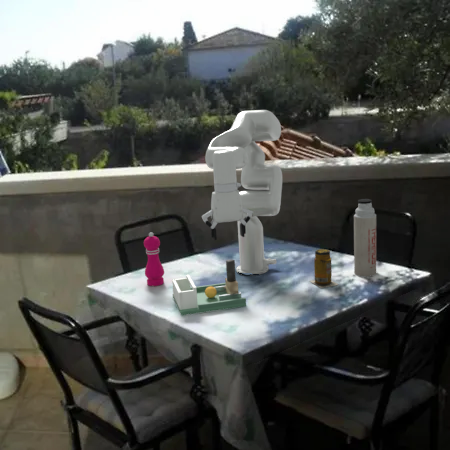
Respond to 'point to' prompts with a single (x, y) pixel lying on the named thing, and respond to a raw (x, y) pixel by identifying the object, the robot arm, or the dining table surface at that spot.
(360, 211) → the thermos bottle
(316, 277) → the condiment
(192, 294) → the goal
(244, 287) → the dining table surface
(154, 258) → the pepper mill
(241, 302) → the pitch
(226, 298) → the kicker track
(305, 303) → the dining table surface
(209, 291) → the ball
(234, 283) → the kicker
